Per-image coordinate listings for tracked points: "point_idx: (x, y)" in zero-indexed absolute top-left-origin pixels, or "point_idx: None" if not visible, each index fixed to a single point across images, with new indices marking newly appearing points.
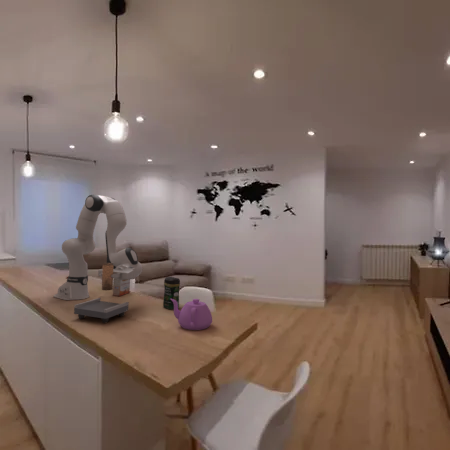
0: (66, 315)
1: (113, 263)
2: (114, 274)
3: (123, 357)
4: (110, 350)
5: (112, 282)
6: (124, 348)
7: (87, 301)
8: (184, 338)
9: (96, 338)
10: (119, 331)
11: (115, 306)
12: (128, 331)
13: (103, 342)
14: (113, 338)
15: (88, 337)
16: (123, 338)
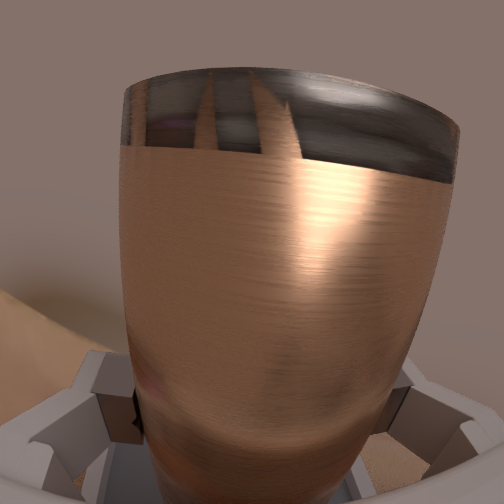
0: (405, 466)
1: (127, 89)
2: (80, 371)
3: (6, 297)
4: (32, 311)
5: (159, 488)
6: (6, 320)
7: (368, 489)
8: None
9: (86, 350)
10: (37, 403)
11: (87, 475)
12: (8, 406)
13: (58, 335)
14: (40, 356)
15: (111, 351)
16: (14, 360)
